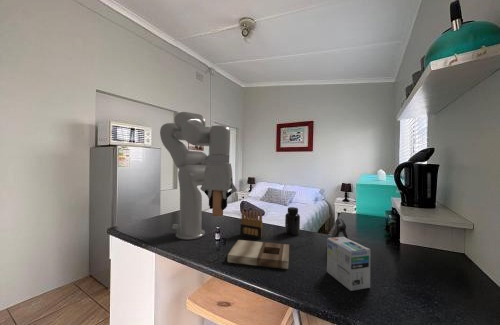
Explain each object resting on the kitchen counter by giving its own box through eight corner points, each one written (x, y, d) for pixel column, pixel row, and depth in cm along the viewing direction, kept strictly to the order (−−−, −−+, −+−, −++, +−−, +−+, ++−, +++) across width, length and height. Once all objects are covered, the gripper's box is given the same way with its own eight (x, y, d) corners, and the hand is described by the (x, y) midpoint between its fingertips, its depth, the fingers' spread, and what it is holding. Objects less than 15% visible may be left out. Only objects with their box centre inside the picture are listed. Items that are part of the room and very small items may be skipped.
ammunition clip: (263, 238, 96) (263, 211, 96) (261, 239, 94) (261, 211, 94) (241, 233, 101) (242, 208, 101) (239, 235, 99) (240, 208, 99)
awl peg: (210, 215, 80) (211, 188, 79) (214, 213, 83) (215, 187, 83) (221, 216, 79) (221, 189, 78) (224, 214, 83) (225, 187, 82)
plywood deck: (227, 262, 73) (227, 254, 73) (238, 246, 87) (238, 239, 87) (288, 269, 69) (288, 261, 69) (289, 251, 83) (289, 244, 83)
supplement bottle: (282, 233, 103) (282, 208, 103) (289, 230, 108) (290, 206, 108) (294, 237, 98) (295, 210, 98) (302, 233, 103) (302, 208, 103)
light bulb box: (371, 288, 59) (372, 249, 59) (350, 292, 57) (351, 251, 57) (343, 269, 70) (344, 235, 70) (325, 272, 68) (326, 237, 68)
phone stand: (351, 250, 84) (352, 219, 84) (354, 257, 79) (355, 224, 78) (327, 247, 87) (327, 217, 87) (327, 253, 81) (328, 221, 81)
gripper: (193, 158, 79) (192, 209, 79) (238, 160, 75) (236, 212, 76) (202, 158, 86) (201, 204, 86) (243, 160, 83) (242, 208, 83)
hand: (217, 208), depth 81 cm, fingers closed on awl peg, 4 cm apart
